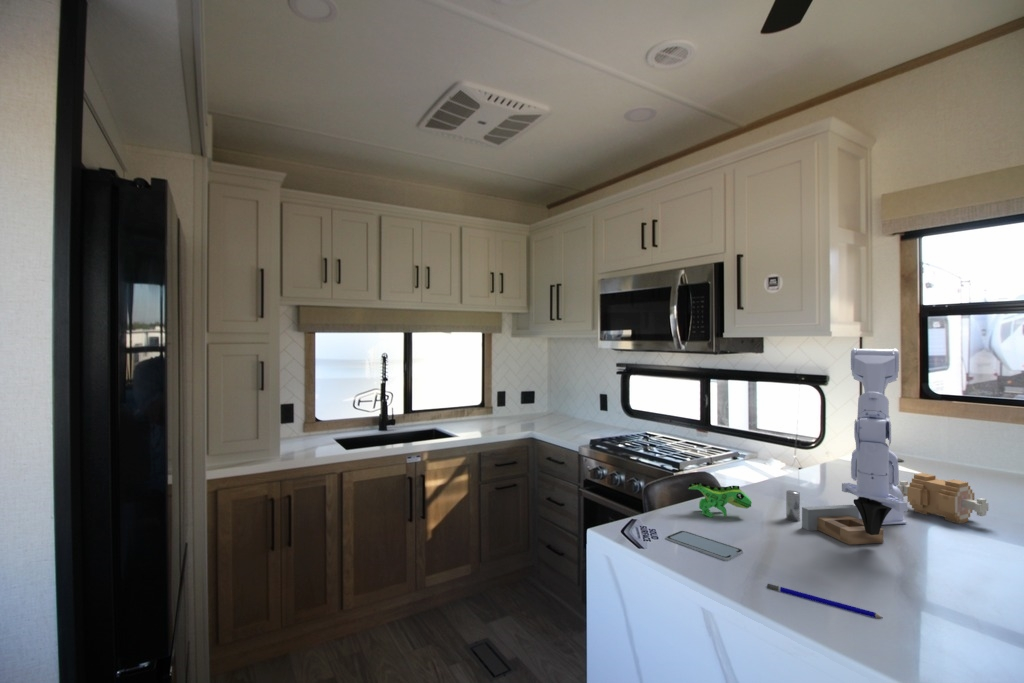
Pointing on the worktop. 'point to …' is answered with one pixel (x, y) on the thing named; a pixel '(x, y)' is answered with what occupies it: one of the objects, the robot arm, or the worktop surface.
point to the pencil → (824, 601)
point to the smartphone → (705, 545)
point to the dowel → (792, 505)
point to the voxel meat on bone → (942, 497)
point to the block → (848, 530)
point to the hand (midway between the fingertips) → (872, 533)
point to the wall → (825, 514)
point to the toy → (720, 497)
